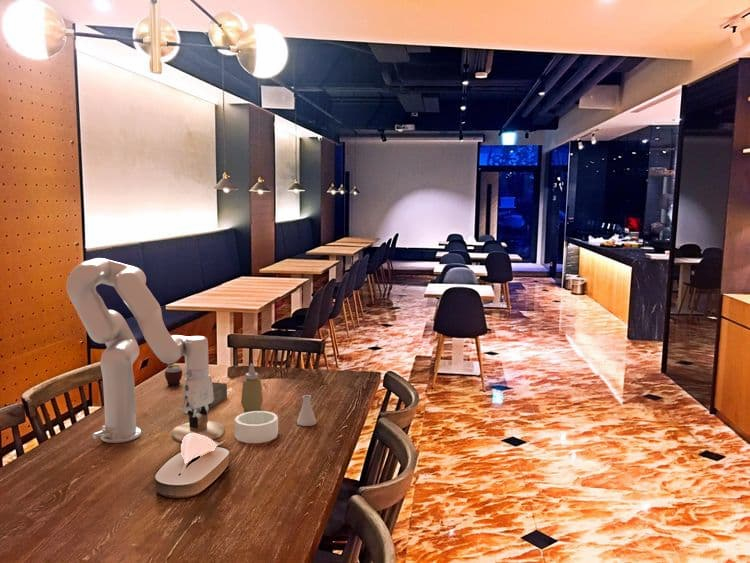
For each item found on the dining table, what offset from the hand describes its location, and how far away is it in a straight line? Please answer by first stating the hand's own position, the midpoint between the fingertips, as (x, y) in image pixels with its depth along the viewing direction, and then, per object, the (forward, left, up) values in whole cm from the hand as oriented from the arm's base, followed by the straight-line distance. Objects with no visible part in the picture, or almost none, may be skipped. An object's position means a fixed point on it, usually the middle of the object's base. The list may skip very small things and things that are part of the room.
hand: (198, 424), depth 211 cm
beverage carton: (+24, +19, -4) cm, 31 cm away
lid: (0, 0, -3) cm, 3 cm away
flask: (+27, -26, -3) cm, 37 cm away
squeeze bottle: (+27, -1, -3) cm, 27 cm away
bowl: (+9, -18, -3) cm, 20 cm away
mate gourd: (+34, +48, -3) cm, 59 cm away
